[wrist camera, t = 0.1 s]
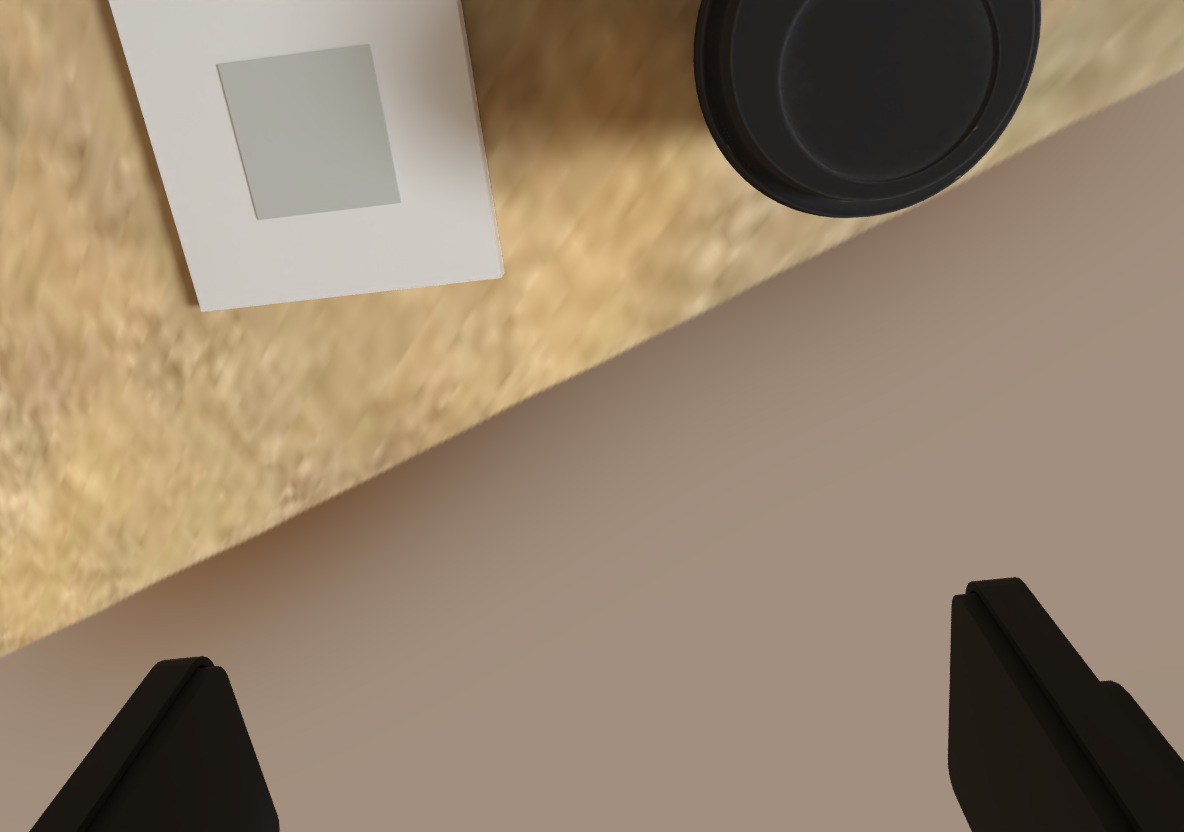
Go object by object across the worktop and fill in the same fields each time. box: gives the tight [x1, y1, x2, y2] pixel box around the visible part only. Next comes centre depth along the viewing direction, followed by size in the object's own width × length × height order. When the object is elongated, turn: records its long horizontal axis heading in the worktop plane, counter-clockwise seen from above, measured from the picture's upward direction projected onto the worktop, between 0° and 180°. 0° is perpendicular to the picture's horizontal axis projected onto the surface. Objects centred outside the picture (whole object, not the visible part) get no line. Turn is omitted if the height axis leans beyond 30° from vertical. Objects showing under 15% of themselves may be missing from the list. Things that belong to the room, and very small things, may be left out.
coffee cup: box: [694, 0, 1041, 218], centre depth 30 cm, size 9×9×15 cm
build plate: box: [109, 0, 505, 312], centre depth 38 cm, size 14×14×1 cm
